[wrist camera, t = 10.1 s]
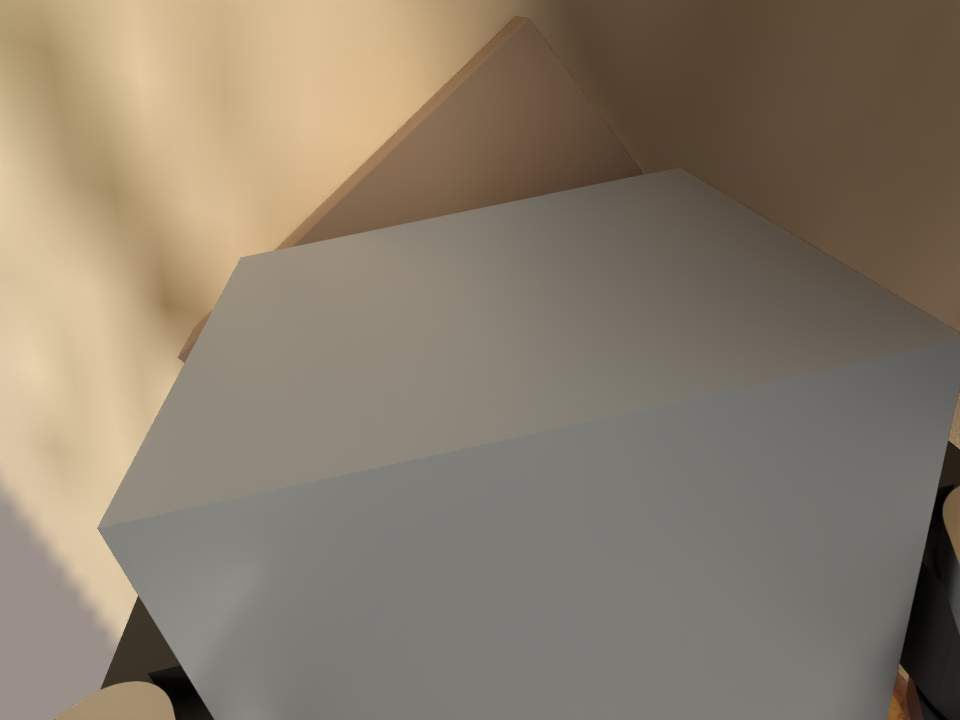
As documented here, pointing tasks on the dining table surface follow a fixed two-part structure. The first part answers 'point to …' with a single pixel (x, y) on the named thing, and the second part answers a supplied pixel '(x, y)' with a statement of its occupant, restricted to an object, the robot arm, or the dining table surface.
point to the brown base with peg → (477, 147)
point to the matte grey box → (545, 471)
